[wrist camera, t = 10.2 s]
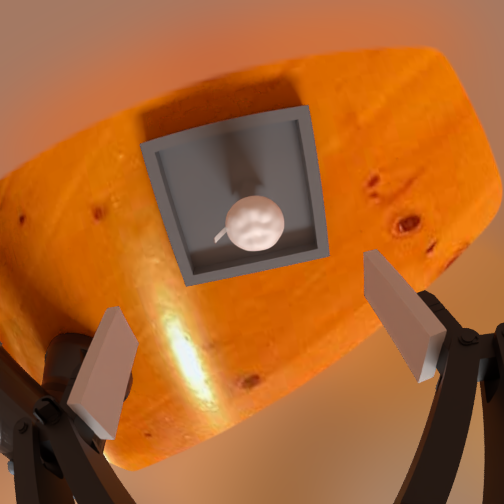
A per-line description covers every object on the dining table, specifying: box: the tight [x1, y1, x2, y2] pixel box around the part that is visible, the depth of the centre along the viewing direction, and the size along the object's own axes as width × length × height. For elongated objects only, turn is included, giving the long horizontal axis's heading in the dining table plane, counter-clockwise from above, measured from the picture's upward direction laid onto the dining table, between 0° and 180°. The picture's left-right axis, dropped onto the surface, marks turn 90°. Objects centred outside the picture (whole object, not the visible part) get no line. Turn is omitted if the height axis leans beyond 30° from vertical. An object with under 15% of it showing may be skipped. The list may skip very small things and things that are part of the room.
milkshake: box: [214, 180, 284, 251], centre depth 27 cm, size 5×5×10 cm
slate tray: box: [140, 105, 330, 287], centre depth 31 cm, size 16×16×2 cm
